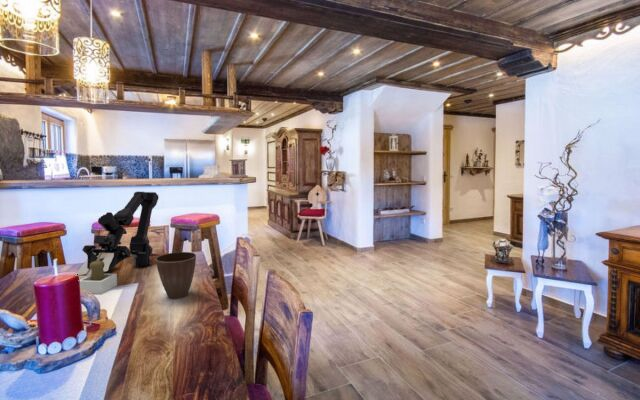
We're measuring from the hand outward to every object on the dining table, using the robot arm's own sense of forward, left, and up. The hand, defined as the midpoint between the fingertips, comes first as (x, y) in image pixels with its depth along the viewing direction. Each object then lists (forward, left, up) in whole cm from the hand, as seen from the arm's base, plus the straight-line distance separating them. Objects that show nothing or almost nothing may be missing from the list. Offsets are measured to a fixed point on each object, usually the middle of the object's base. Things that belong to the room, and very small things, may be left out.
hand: (98, 268), depth 146 cm
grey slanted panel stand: (-8, -26, -9) cm, 28 cm away
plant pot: (-18, +32, -9) cm, 38 cm away
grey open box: (+1, +1, -8) cm, 8 cm away
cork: (+1, +1, -8) cm, 8 cm away
